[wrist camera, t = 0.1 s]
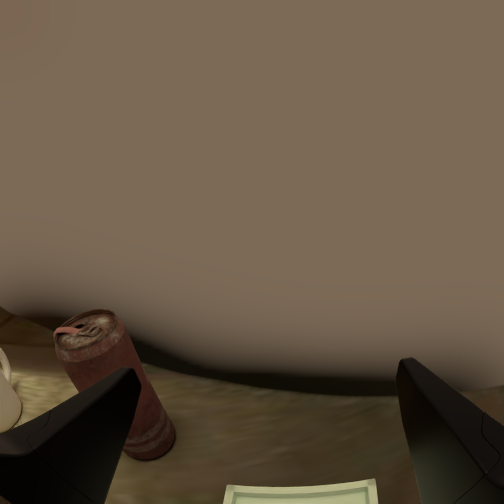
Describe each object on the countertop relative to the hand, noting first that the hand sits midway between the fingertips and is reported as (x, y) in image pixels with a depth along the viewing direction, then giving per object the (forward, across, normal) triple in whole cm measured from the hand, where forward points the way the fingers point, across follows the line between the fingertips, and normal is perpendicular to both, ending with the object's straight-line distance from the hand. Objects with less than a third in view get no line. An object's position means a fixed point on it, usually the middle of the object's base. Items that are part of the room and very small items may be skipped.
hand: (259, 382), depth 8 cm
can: (+7, +14, +17) cm, 23 cm away
